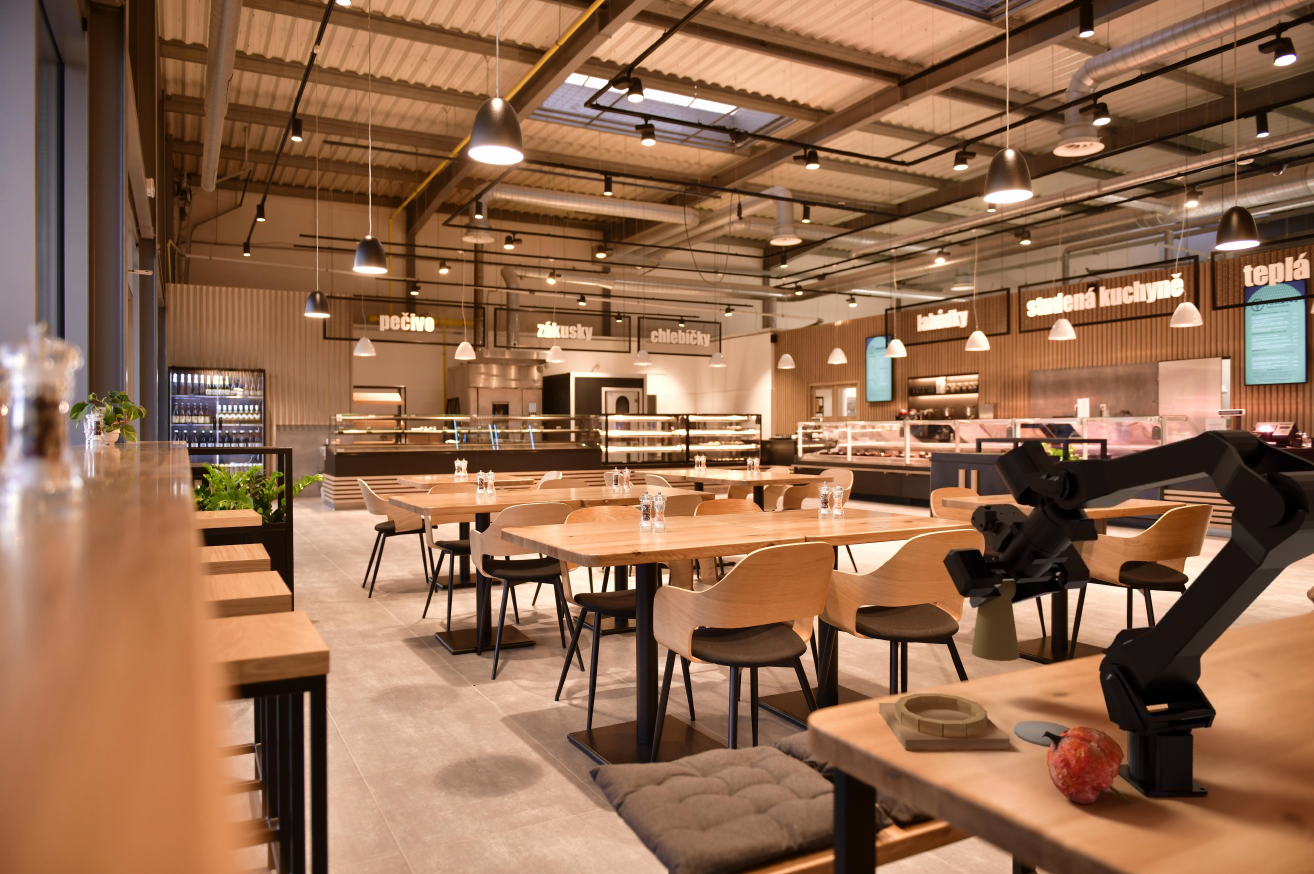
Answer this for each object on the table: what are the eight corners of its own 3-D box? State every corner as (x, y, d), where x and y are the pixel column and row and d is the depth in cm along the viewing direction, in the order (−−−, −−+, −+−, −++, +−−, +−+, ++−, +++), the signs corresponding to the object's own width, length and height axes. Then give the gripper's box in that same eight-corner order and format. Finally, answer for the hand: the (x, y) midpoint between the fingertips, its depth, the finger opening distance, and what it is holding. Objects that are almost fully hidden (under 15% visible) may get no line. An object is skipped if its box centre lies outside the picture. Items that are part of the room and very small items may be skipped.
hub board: (1009, 748, 97) (1009, 725, 97) (905, 749, 97) (905, 726, 97) (971, 711, 109) (971, 690, 109) (879, 712, 109) (879, 691, 109)
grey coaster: (1089, 746, 97) (1089, 743, 97) (1029, 746, 98) (1029, 743, 98) (1061, 723, 104) (1061, 720, 104) (1004, 724, 105) (1004, 720, 104)
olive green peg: (1011, 648, 116) (1011, 569, 116) (1026, 661, 110) (1025, 578, 110) (966, 647, 117) (966, 569, 117) (978, 660, 111) (978, 578, 111)
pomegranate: (1110, 805, 88) (1027, 735, 91) (1160, 763, 85) (1072, 692, 88) (1104, 844, 82) (1015, 768, 85) (1157, 800, 78) (1063, 722, 82)
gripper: (1074, 482, 111) (1019, 552, 123) (951, 487, 107) (905, 559, 118) (1120, 550, 104) (1057, 618, 115) (990, 559, 99) (937, 628, 110)
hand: (988, 603), depth 115 cm, fingers closed on olive green peg, 5 cm apart
